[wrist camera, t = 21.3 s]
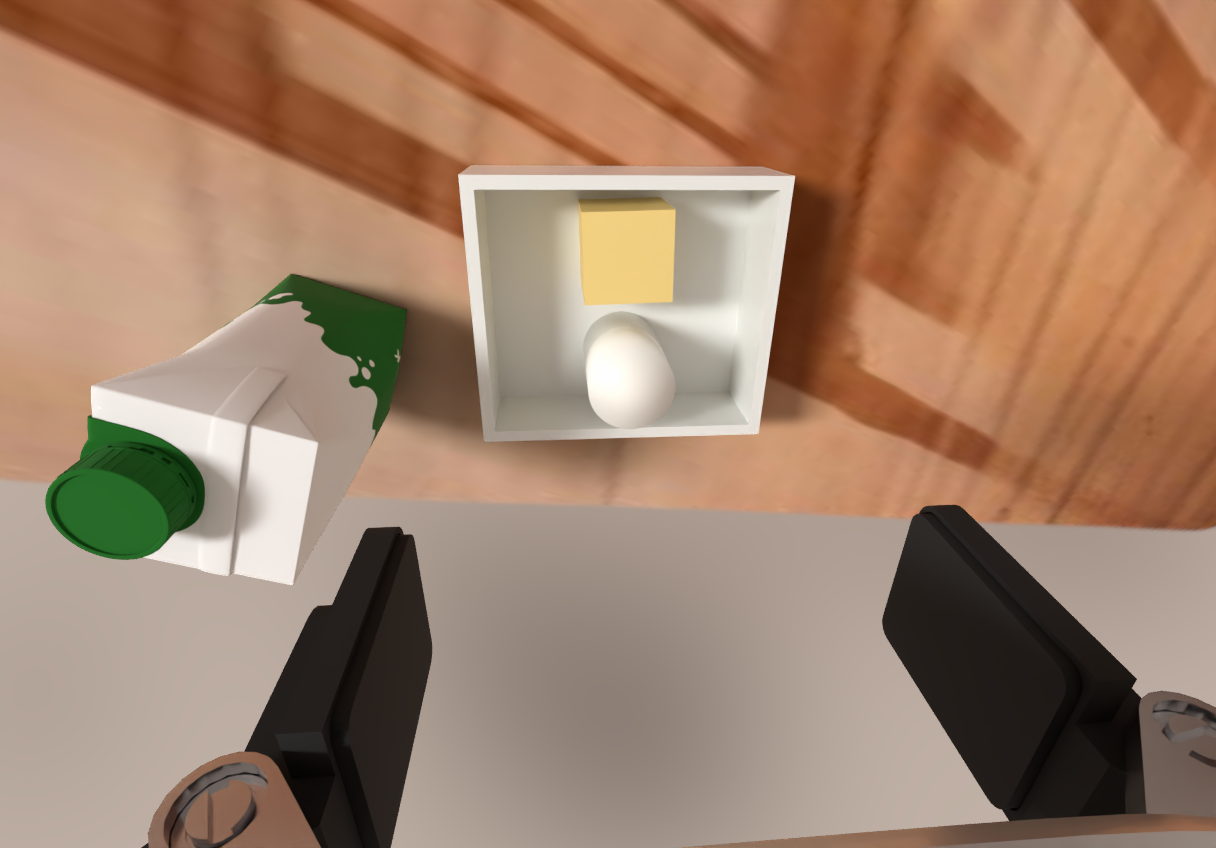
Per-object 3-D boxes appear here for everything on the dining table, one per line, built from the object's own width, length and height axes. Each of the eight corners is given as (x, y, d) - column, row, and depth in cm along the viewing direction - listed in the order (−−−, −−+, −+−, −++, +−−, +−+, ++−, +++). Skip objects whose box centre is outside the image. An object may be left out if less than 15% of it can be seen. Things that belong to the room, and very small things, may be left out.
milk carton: (277, 254, 37) (25, 390, 19) (426, 301, 39) (322, 463, 21) (261, 380, 40) (36, 592, 23) (399, 417, 43) (290, 638, 25)
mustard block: (660, 197, 37) (675, 209, 32) (659, 279, 39) (672, 301, 34) (577, 199, 36) (581, 212, 32) (580, 282, 39) (584, 305, 34)
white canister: (659, 310, 40) (678, 348, 34) (655, 381, 42) (672, 428, 36) (582, 311, 39) (588, 349, 33) (583, 382, 42) (588, 430, 36)
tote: (762, 166, 37) (795, 175, 32) (735, 397, 44) (758, 433, 39) (471, 165, 35) (458, 174, 31) (491, 402, 43) (484, 441, 38)
